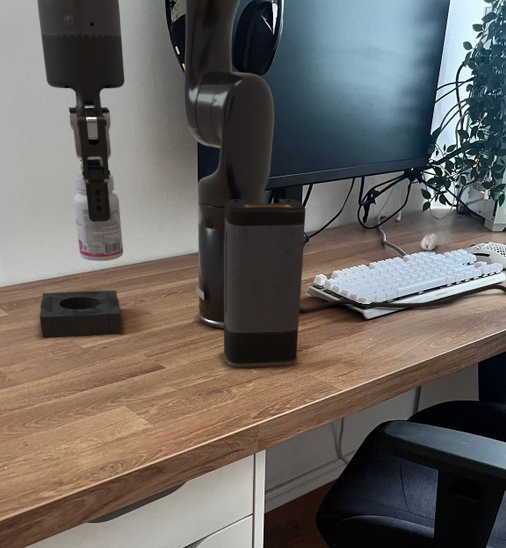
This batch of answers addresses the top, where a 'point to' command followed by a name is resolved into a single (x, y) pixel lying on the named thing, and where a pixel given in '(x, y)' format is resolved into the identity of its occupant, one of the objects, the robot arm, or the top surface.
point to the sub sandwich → (429, 242)
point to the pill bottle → (97, 226)
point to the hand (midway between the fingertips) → (98, 214)
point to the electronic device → (262, 282)
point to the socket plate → (80, 313)
